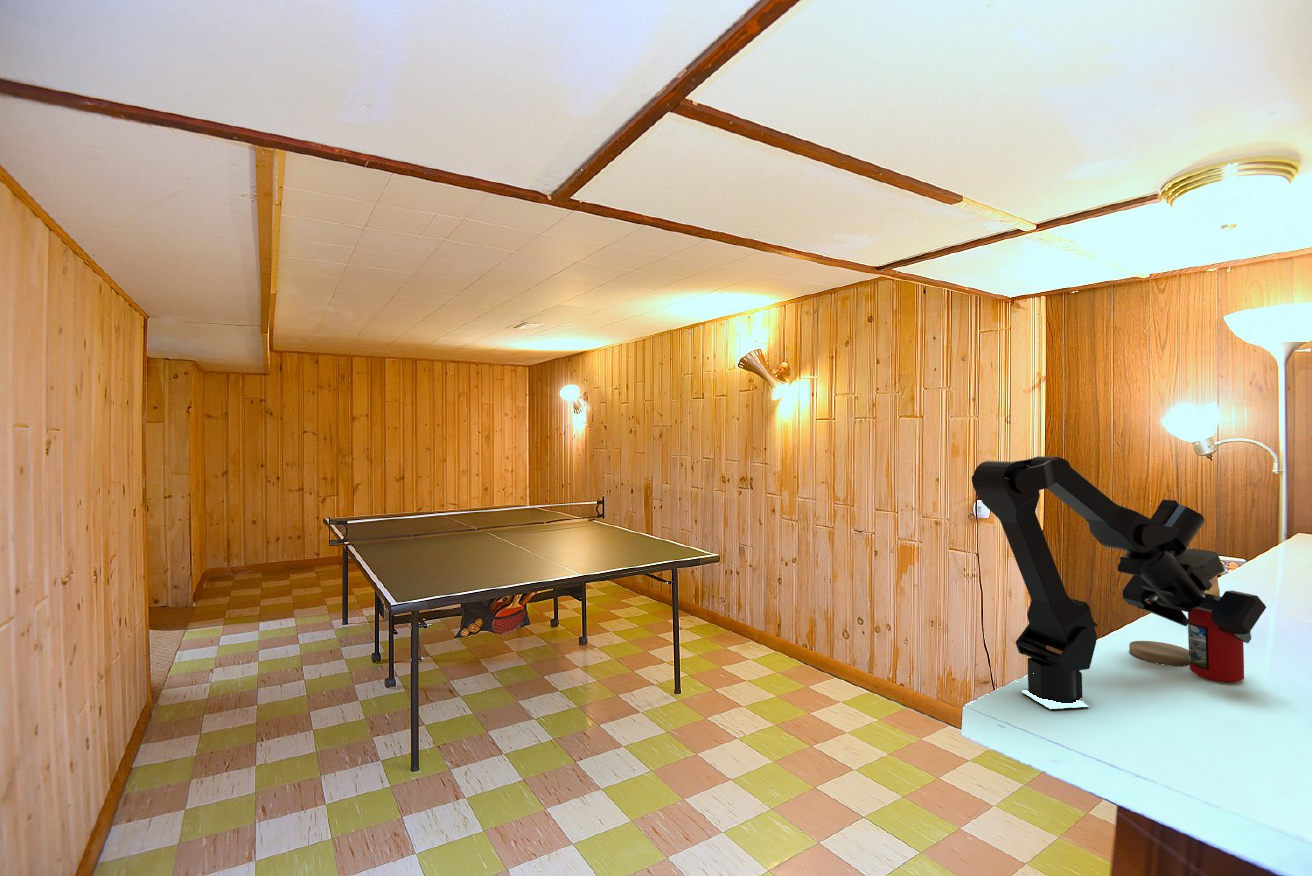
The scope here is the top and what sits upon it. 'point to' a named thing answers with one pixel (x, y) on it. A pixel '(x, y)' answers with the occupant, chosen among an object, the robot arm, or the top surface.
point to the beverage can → (1213, 649)
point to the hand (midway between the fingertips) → (1216, 632)
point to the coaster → (1159, 653)
